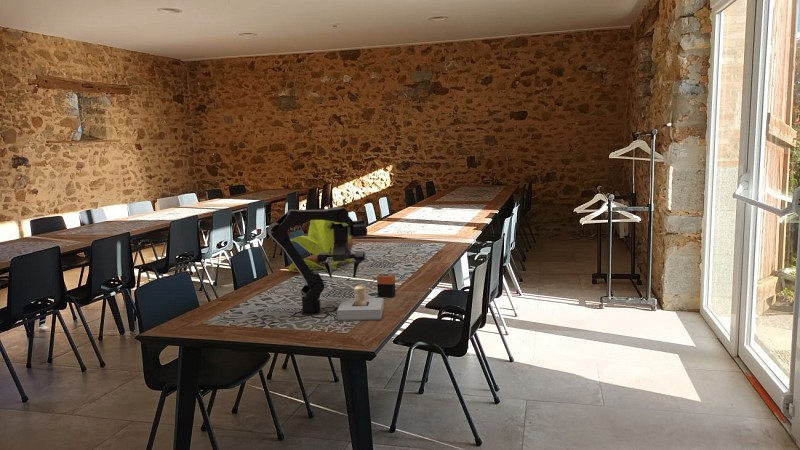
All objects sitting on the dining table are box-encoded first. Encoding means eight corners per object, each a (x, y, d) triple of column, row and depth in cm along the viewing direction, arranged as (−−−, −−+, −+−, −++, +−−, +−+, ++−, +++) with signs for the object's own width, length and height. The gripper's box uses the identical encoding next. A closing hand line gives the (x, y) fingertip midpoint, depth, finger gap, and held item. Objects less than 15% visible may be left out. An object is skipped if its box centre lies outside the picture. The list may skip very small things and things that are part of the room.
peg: (355, 314, 235) (354, 288, 233) (356, 311, 239) (355, 286, 237) (366, 314, 235) (364, 288, 233) (367, 311, 238) (365, 286, 237)
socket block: (337, 320, 229) (337, 310, 229) (343, 308, 245) (342, 299, 244) (380, 320, 228) (380, 309, 228) (383, 307, 244) (383, 298, 244)
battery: (380, 294, 265) (379, 271, 264) (395, 295, 263) (395, 272, 262) (377, 297, 261) (376, 273, 260) (392, 297, 259) (391, 274, 257)
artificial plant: (375, 275, 330) (365, 225, 343) (362, 243, 292) (351, 188, 304) (298, 292, 331) (291, 242, 344) (275, 263, 292) (268, 208, 305)
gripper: (313, 243, 235) (315, 283, 238) (362, 242, 234) (364, 282, 237) (318, 238, 246) (320, 276, 249) (365, 237, 245) (367, 275, 248)
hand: (342, 278), depth 245 cm, fingers open, 9 cm apart
